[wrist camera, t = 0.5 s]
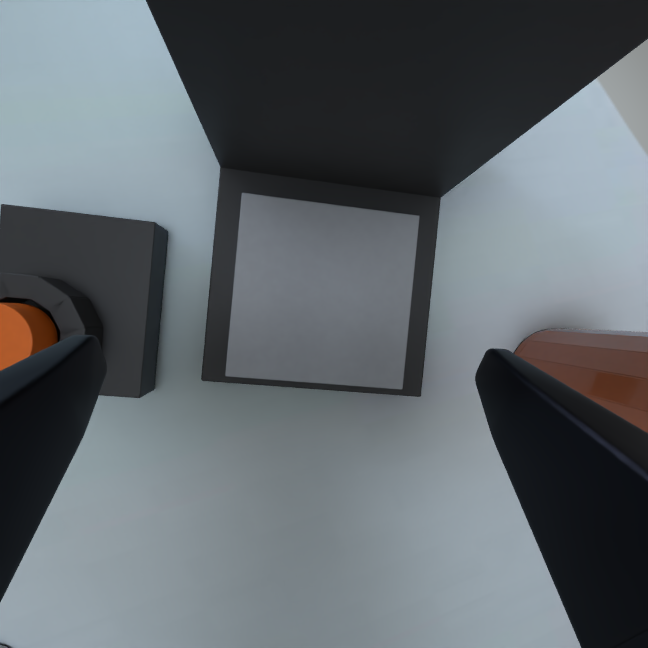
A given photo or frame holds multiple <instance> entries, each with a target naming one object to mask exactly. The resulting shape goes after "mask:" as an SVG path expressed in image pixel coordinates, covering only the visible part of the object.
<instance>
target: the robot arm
mask: <svg viewBox="0 0 648 648" xmlns="http://www.w3.org/2000/svg"><path fill="white" fill-rule="evenodd" d="M106 373H107V364H106V360H105V357H104V354H103V351H102V349H101V346H100V343H99V340H98V339H97V337H95V336H93V335H72V336H70V337H68V338H66V339H64V340H62V341H60V342H58V343H56V344H54V345H52V346H50V347H48V348H46V349H43V350H41V351H39V352H37V353H35V354H33V355H31V356H29V357H27V358H25V359H23V360H21V361H19V362H17V363H15V364H13V365H11V366H9V367H7V368H5V369H3V370H1V371H0V602H1V600H2V598H3V596H4V594H5V592H6V590H7V588H8V586H9V584H10V582H11V580H12V578H13V576H14V574H15V572H16V570H17V568H18V566H19V564H20V562H21V560H22V558H23V556H24V554H25V552H26V550H27V548H28V546H29V544H30V542H31V540H32V538H33V536H34V534H35V532H36V530H37V528H38V526H39V524H40V522H41V520H42V518H43V516H44V514H45V512H46V510H47V508H48V506H49V504H50V502H51V500H52V498H53V496H54V494H55V492H56V490H57V488H58V486H59V484H60V482H61V480H62V478H63V476H64V474H65V472H66V470H67V468H68V466H69V464H70V462H71V460H72V458H73V456H74V454H75V452H76V450H77V448H78V446H79V444H80V442H81V440H82V438H83V436H84V433H85V431H86V428H87V426H88V423H89V420H90V417H91V415H92V412H93V409H94V406H95V404H96V401H97V398H98V395H99V393H100V390H101V387H102V384H103V382H104V379H105V376H106ZM475 381H476V385H477V389H478V392H479V395H480V399H481V402H482V405H483V408H484V412H485V415H486V418H487V422H488V425H489V428H490V431H491V434H492V437H493V440H494V442H495V445H496V447H497V450H498V452H499V454H500V457H501V459H502V462H503V464H504V466H505V469H506V471H507V473H508V476H509V478H510V480H511V483H512V485H513V487H514V490H515V492H516V495H517V497H518V499H519V502H520V504H521V506H522V509H523V511H524V513H525V516H526V518H527V521H528V523H529V525H530V528H531V530H532V532H533V535H534V537H535V539H536V542H537V544H538V546H539V549H540V551H541V554H542V556H543V558H544V561H545V563H546V565H547V568H548V570H549V572H550V575H551V577H552V579H553V582H554V584H555V587H556V589H557V591H558V594H559V596H560V598H561V601H562V603H563V605H564V608H565V610H566V613H567V615H568V617H569V620H570V622H571V624H572V627H573V629H574V631H575V634H576V636H577V638H578V641H579V643H580V646H581V648H648V433H647V432H645V431H643V430H642V429H640V428H638V427H637V426H635V425H633V424H632V423H630V422H628V421H626V420H625V419H623V418H621V417H620V416H618V415H616V414H615V413H613V412H611V411H610V410H608V409H606V408H605V407H603V406H601V405H599V404H598V403H596V402H594V401H593V400H591V399H589V398H588V397H586V396H584V395H583V394H581V393H579V392H578V391H576V390H574V389H572V388H571V387H569V386H567V385H566V384H564V383H562V382H561V381H559V380H557V379H556V378H554V377H552V376H551V375H549V374H547V373H545V372H544V371H542V370H540V369H539V368H537V367H535V366H534V365H532V364H530V363H529V362H527V361H525V360H524V359H522V358H520V357H518V356H517V355H515V354H513V353H512V352H510V351H508V350H506V349H489V350H487V351H486V353H485V355H484V357H483V359H482V361H481V363H480V365H479V368H478V370H477V372H476V376H475Z"/></svg>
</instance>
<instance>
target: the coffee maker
mask: <svg viewBox="0 0 648 648" xmlns="http://www.w3.org/2000/svg"><path fill="white" fill-rule="evenodd" d="M146 2H147V4H148V6H149V8H150V11H151V13H152V15H153V17H154V20H155V22H156V24H157V26H158V28H159V31H160V33H161V35H162V37H163V40H164V42H165V44H166V46H167V49H168V51H169V53H170V55H171V57H172V60H173V62H174V64H175V66H176V69H177V71H178V73H179V75H180V78H181V80H182V82H183V84H184V86H185V89H186V91H187V93H188V95H189V98H190V100H191V102H192V104H193V107H194V109H195V111H196V113H197V115H198V118H199V120H200V122H201V124H202V127H203V129H204V131H205V133H206V136H207V138H208V140H209V142H210V144H211V147H212V149H213V151H214V153H215V156H216V158H217V160H218V162H219V165H220V167H221V168H220V179H219V190H218V201H217V212H216V223H215V234H214V245H213V256H212V267H211V278H210V289H209V300H208V312H207V323H206V334H205V345H204V356H203V367H202V378H201V379H202V381H213V382H227V383H240V384H254V385H267V386H281V387H295V388H308V389H322V390H335V391H349V392H363V393H376V394H390V395H403V396H417V397H420V396H421V388H422V378H423V368H424V358H425V348H426V338H427V328H428V318H429V308H430V298H431V288H432V278H433V268H434V258H435V248H436V238H437V228H438V218H439V208H440V198H441V197H442V196H443V195H444V194H446V193H447V192H448V191H450V190H451V189H452V188H454V187H455V186H456V185H457V184H459V183H460V182H461V181H463V180H464V179H465V178H467V177H468V176H469V175H471V174H472V173H473V172H474V171H476V170H477V169H478V168H480V167H481V166H482V165H484V164H485V163H486V162H487V161H489V160H490V159H491V158H493V157H494V156H495V155H497V154H498V153H499V152H501V151H502V150H503V149H504V148H506V147H507V146H508V145H510V144H511V143H512V142H514V141H515V140H516V139H517V138H519V137H520V136H521V135H523V134H524V133H525V132H527V131H528V130H529V129H531V128H532V127H533V126H534V125H536V124H537V123H538V122H540V121H541V120H542V119H544V118H545V117H546V116H547V115H549V114H550V113H551V112H553V111H554V110H555V109H557V108H558V107H559V106H561V105H562V104H563V103H564V102H566V101H567V100H568V99H570V98H571V97H572V96H574V95H575V94H576V93H577V92H579V91H580V90H581V89H583V88H584V87H585V86H587V85H588V84H589V83H591V82H592V81H593V80H594V79H596V78H597V77H598V76H600V75H601V74H602V73H604V72H605V71H606V70H607V69H609V68H610V67H611V66H613V65H614V64H615V63H617V62H618V61H619V60H620V59H622V58H623V57H624V56H626V55H627V54H628V53H630V52H631V51H632V50H633V49H635V48H636V47H638V46H639V45H640V44H641V43H643V42H644V41H645V40H647V39H648V0H146Z"/></svg>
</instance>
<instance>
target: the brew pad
mask: <svg viewBox="0 0 648 648" xmlns="http://www.w3.org/2000/svg"><path fill="white" fill-rule="evenodd" d="M167 238H168V231H167V230H165V229H164V228H162V227H161V226H159V225H158V224H157V223H155V222H148V221H140V220H132V219H123V218H115V217H106V216H98V215H89V214H81V213H73V212H64V211H56V210H47V209H39V208H31V207H22V206H14V205H5V204H2V205H1V215H0V303H22V304H28V305H32V306H34V307H37V308H39V309H40V310H42V311H43V312H45V313H46V314H47V315H48V316H49V317H50V319H51V320H52V321H53V323H54V325H55V327H56V330H57V335H58V342H60V341H62V340H64V339H66V338H68V337H70V336H72V335H93V336H95V337H97V339H98V340H99V343H100V346H101V349H102V351H103V354H104V357H105V360H106V364H107V373H106V376H105V379H104V382H103V384H102V387H101V390H100V393H99V395H104V396H119V397H134V398H140V397H142V396H144V395H146V394H147V393H149V392H151V391H153V390H154V385H155V374H156V363H157V351H158V340H159V329H160V317H161V306H162V295H163V283H164V272H165V261H166V249H167Z"/></svg>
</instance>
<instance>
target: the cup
mask: <svg viewBox="0 0 648 648" xmlns="http://www.w3.org/2000/svg"><path fill="white" fill-rule="evenodd" d="M514 354H515V355H517V356H518V357H520V358H522V359H524V360H525V361H527V362H529V363H530V364H532V365H534V366H535V367H537V368H539V369H540V370H542V371H544V372H545V373H547V374H549V375H551V376H552V377H554V378H556V379H557V380H559V381H561V382H562V383H564V384H566V385H567V386H569V387H571V388H572V389H574V390H576V391H578V392H579V393H581V394H583V395H584V396H586V397H588V398H589V399H591V400H593V401H594V402H596V403H598V404H599V405H601V406H603V407H605V408H606V409H608V410H610V411H611V412H613V413H615V414H616V415H618V416H620V417H621V418H623V419H625V420H626V421H628V422H630V423H632V424H633V425H635V426H637V427H638V428H640V429H642V430H643V431H645V432H647V433H648V332H631V331H610V330H589V329H568V328H561V329H546V330H542V331H539V332H536V333H534V334H532V335H531V336H529V337H528V338H526V339H525V340H524V341H523V342H522V343H521V344H520V345H519V347H518V348H517V349H516V351H515V352H514Z"/></svg>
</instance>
